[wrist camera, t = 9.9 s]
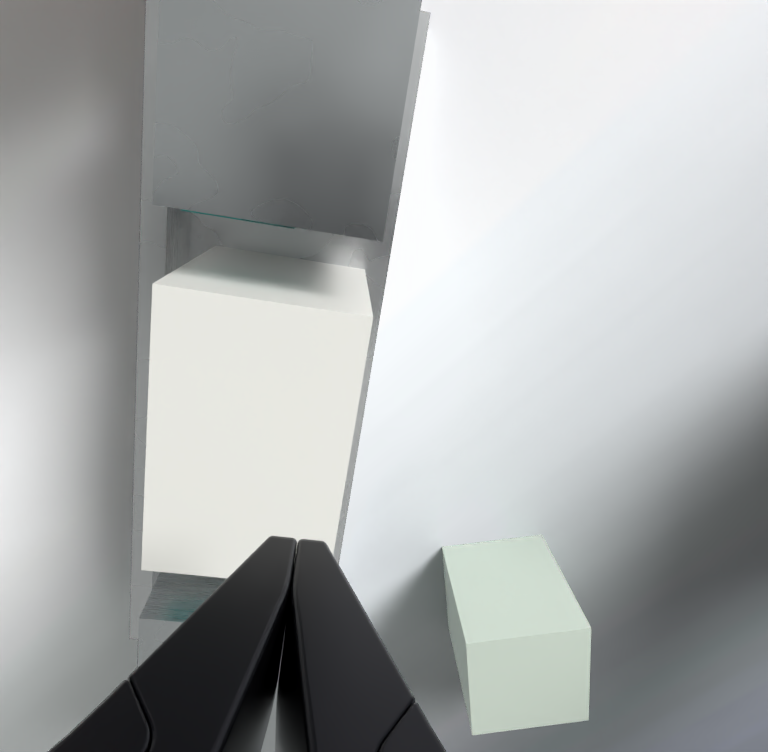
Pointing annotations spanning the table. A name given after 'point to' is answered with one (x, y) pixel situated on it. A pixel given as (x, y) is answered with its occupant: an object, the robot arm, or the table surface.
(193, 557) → the block
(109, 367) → the table surface
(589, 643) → the block
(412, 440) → the table surface
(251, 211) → the rail
